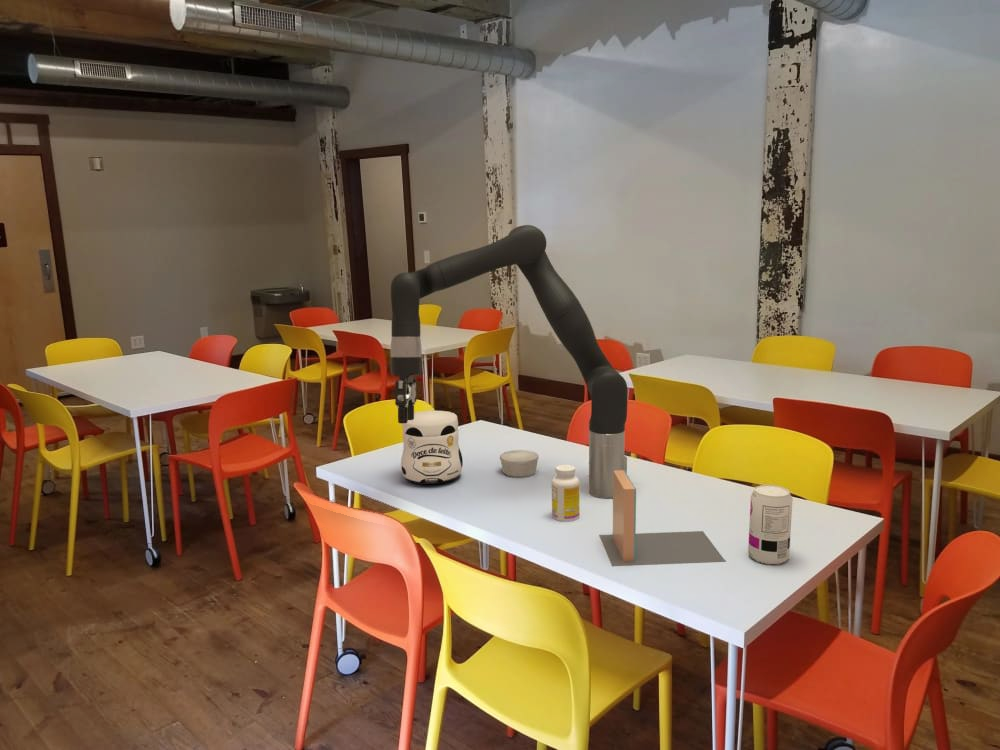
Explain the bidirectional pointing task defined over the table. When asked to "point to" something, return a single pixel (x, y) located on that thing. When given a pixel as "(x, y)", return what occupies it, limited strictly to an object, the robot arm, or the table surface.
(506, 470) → the ramekin
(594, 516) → the table surface
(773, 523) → the supplement can
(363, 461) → the table surface
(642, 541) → the mat
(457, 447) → the milk container
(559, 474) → the supplement bottle
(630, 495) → the tile
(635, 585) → the table surface
